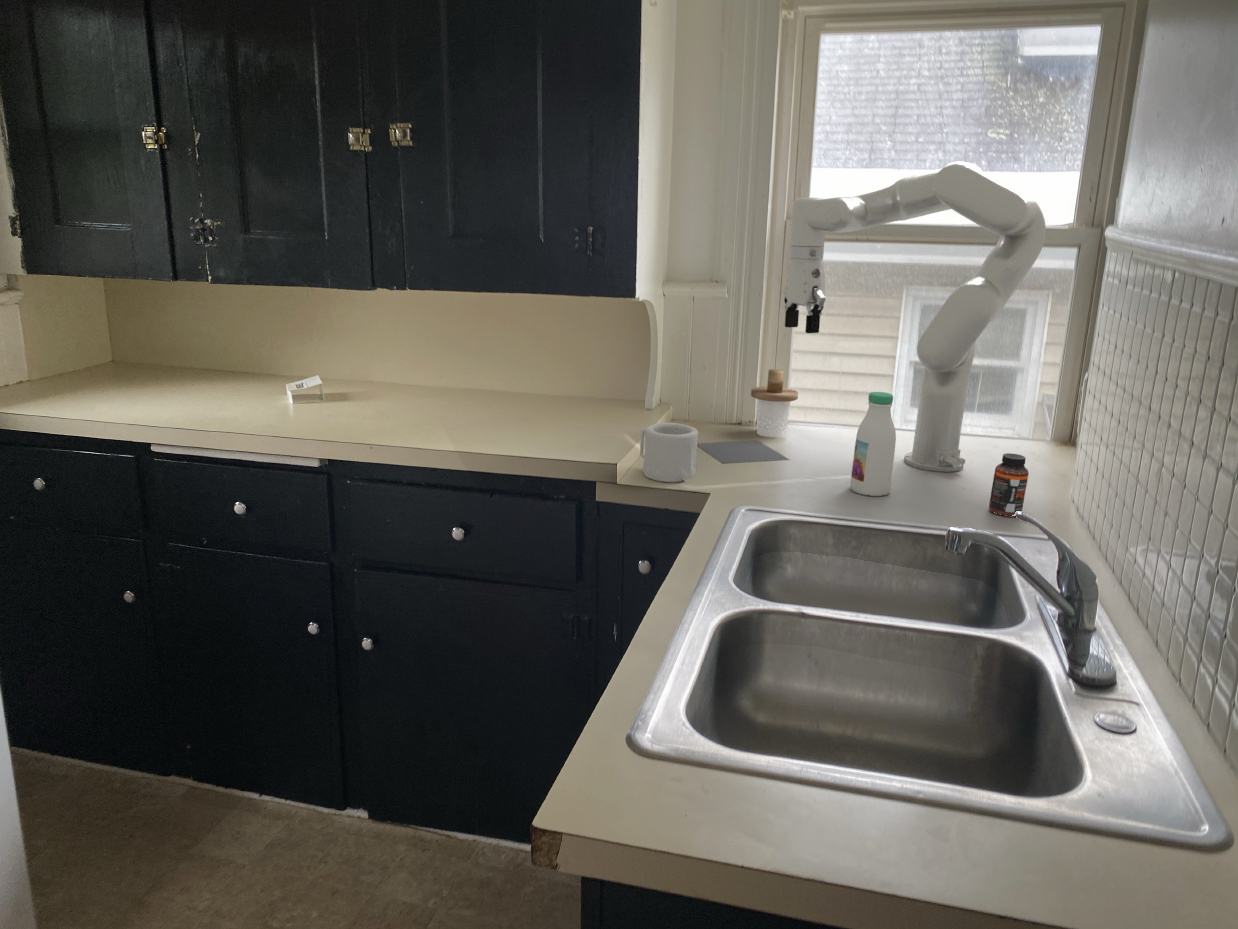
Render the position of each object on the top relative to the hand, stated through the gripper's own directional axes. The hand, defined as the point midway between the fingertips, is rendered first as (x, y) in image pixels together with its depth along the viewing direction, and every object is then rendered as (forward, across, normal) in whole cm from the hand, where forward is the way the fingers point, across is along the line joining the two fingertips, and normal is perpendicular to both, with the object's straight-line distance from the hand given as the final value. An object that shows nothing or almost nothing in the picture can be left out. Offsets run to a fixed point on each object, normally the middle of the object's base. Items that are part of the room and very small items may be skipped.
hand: (801, 329), depth 221 cm
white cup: (+26, +4, +4) cm, 27 cm away
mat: (+26, -9, +18) cm, 33 cm away
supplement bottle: (+28, -56, -15) cm, 64 cm away
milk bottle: (+27, -38, +4) cm, 47 cm away
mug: (+26, -19, +41) cm, 52 cm away
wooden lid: (+16, +3, +4) cm, 17 cm away
